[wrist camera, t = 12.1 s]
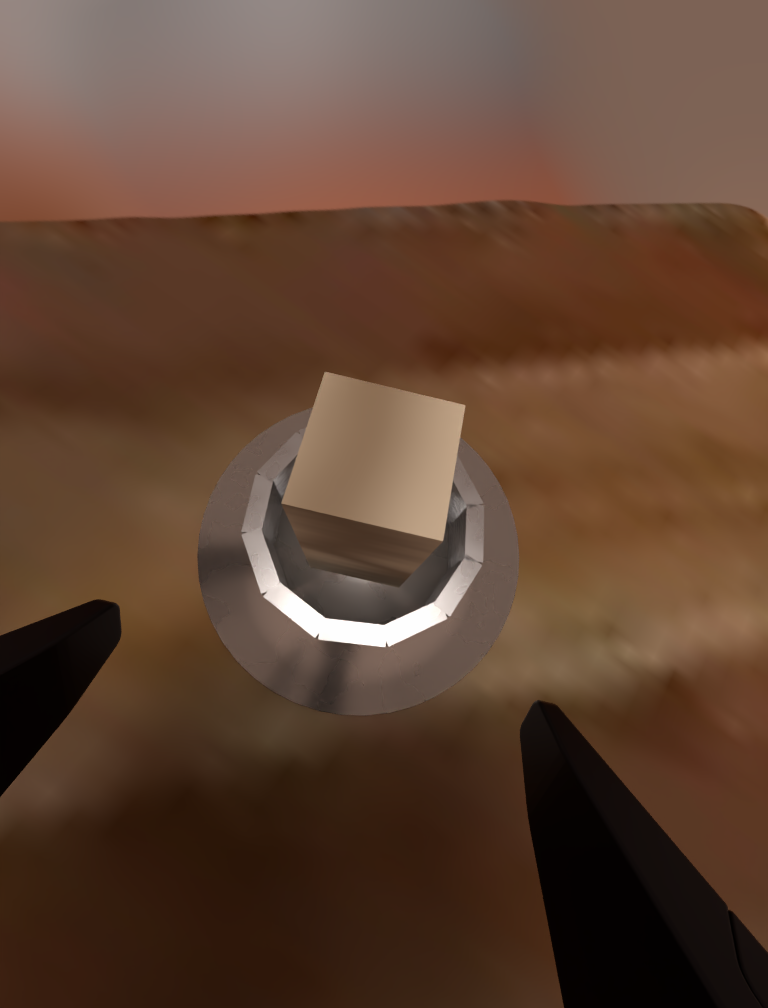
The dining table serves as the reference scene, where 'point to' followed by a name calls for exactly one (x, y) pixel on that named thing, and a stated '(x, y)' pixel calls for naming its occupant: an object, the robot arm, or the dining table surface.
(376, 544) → the wedge pin
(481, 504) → the steel rosette
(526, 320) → the dining table surface
